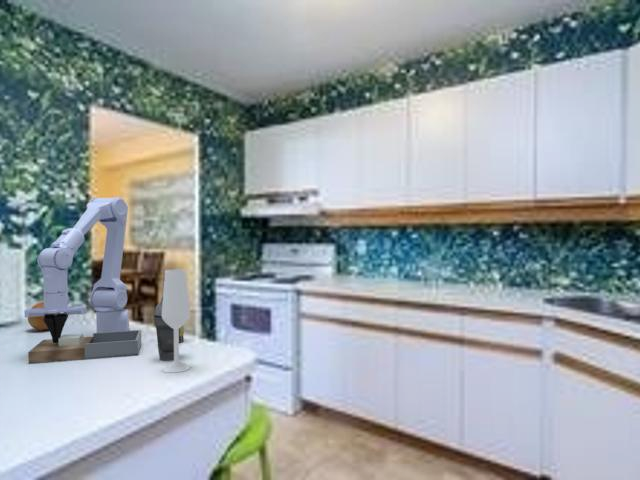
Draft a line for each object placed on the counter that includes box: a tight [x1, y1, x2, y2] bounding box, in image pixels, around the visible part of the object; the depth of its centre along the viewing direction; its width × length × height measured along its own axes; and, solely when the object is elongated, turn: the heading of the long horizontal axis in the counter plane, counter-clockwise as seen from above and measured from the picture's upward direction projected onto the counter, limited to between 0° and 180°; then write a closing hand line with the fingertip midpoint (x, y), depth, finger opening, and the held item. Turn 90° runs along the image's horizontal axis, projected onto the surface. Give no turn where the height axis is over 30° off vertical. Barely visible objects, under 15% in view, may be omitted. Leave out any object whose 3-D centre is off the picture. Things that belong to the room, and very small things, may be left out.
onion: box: [27, 300, 51, 332], centre depth 160 cm, size 10×10×10 cm
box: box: [84, 329, 142, 360], centre depth 132 cm, size 13×14×4 cm
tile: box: [59, 333, 84, 346], centre depth 129 cm, size 5×5×2 cm
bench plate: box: [27, 336, 93, 365], centre depth 128 cm, size 13×14×3 cm
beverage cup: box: [153, 282, 180, 362], centre depth 124 cm, size 7×7×20 cm
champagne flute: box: [161, 269, 191, 373], centre depth 115 cm, size 7×7×24 cm
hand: (56, 342), depth 128 cm, fingers closed
